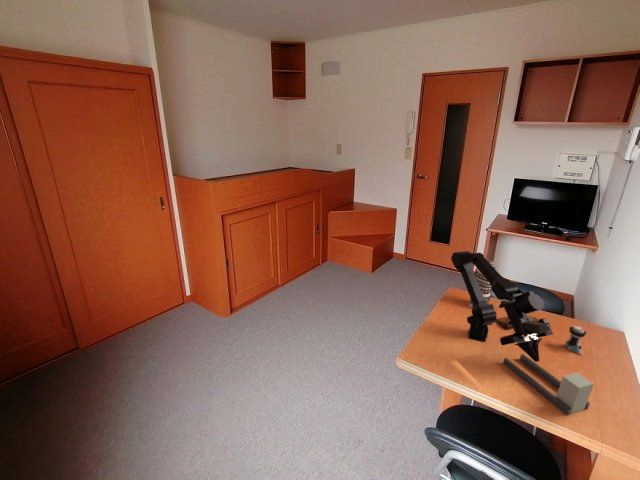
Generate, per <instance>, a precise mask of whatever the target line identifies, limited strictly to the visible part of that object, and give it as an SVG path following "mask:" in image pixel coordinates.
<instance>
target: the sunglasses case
mask: <svg viewBox="0 0 640 480" xmlns="http://www.w3.org/2000/svg"><path fill="white" fill-rule="evenodd" d="M526 316H527V317H530V318H531V319H532V321H539V318H538V317H536V316H533V315H528V314H526ZM508 322H510V320H509V318H508V316H504V317H499V318H497V319H496V321H495V322H494V323H496V324H498V325H499V326H500V327H502V329H504V330H512V329H513V327H512V325H509V324H508Z"/></svg>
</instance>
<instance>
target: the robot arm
mask: <svg viewBox="0 0 640 480" xmlns="http://www.w3.org/2000/svg"><path fill="white" fill-rule="evenodd" d="M486 259H487V258H486V257H485V255H484V254H483V253H482V252H470V251H468V250H465V251H464V250H463V251H462V250H461V251H455V252H453V253H452V255H451V257H450V261H451V263H452V264H453V266H454V268H455V269H456V270H458V271H459V272H460V274H461V276H462V279H463V282H464V284H465V286H466V290H467V293H468V295H469V298H471V301H472V303H473V307H472V308H471V314H472V315H470V316H467V317H466V322H467V323H468V324H469V328H468V330H467V332H468V333H467V334H468V339H471V340H474V341H475V340H476V341H479V342H485V343H486V342H487V340H486V339H487V338H488V334H489V326H492V325H493V324H494V323H496V322H495V321H496V319H498V318H497V314H498V313H497V312H496V310H495V307H494V305H493V304H492V303H491V304H490V303H489V304H488V303H487V302H486V301H485V299H484V297H483V294H482V292H481V289H480V287H479V284H478V282H477V279H476V276H475V270H474V269H473V268H474V267H475V269H476V268H477V269H478V270H479V271H480V272H481V273H482V275H483V276H484V277H485V278H486V279H487V280H488V281H489V283H490V284H491V291H492V293H493V294H494V296H495V297H496V298H497V299H498V300H501V301H500V303H499V306H498V308H499V309H502V308H504V310H505V313H506V315H507V317H508V318H509V320H510V322H508V324H509V325H512V327H513V328H512V329H513V333H512V334H509V335H504V336H501V337H500V338H499V342H500V345H501V346H505V345H511V344H514V345H515V346H518V347H519V348H520V349H521V350H522V351H523V352H525V353H526V354H527V355H528V356H529V357H530V358H531V360H532V361H533V362H535V363H536V362H537V363H539V362H540V355H539V353H540V352H539V351H540V350H539V345H540V342H541V341H542V340H543V338H542V337H547V336H552V335H554V332H553V330H552V328H551V325H550V322H549V320H548V319H547V318H545V317H542V318H538V320H539V321H532V319H531V318H530V317H527V316H528V314H532V313H534V312H538V311H541V310H543V309H544V308H545V305H544V304H545V303H544V300H543V298H541V297H540V296H539V295H538V294H537V293H535V292H534V291H533V290H529V291H526V292H524V291H523V290H521V289H520V288H518V286H517V285H516V284H515V283H513V281H512V280H510V279H509V278H507V277H506V278H505V277H503V276H502V274H500V273H499V272H498V270H497V269H496V268H495V269H494V268H493V266H492V265H491V264H490V263H489V262H488V261H487V260H486ZM526 315H527V316H526Z"/></svg>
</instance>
